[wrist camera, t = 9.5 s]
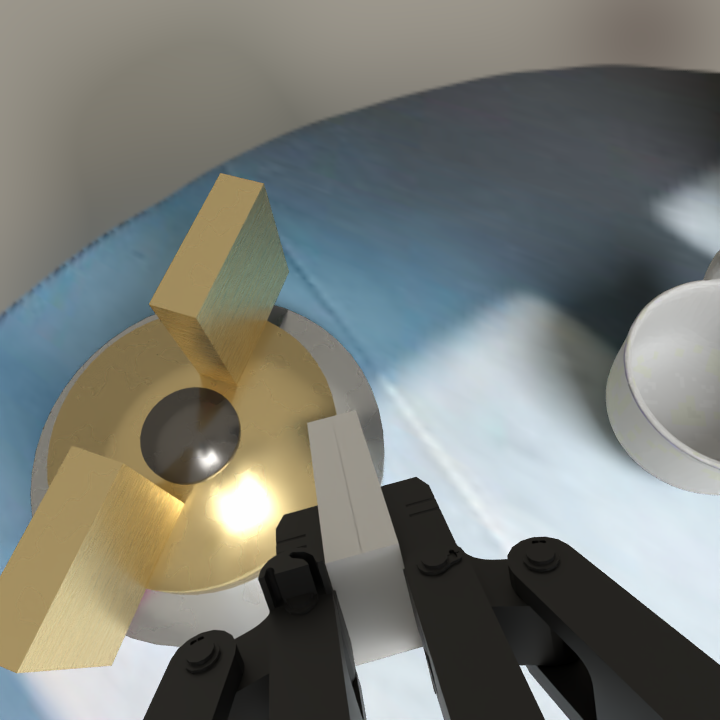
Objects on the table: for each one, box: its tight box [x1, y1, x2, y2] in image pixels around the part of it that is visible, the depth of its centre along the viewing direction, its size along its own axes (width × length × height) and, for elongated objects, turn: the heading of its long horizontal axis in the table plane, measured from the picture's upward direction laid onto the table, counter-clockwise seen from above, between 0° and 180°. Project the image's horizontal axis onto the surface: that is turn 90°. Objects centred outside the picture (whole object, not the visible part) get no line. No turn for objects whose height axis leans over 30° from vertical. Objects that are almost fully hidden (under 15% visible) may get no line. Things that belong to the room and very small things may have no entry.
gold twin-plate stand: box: [0, 173, 337, 673], centre depth 31 cm, size 18×17×10 cm
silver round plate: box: [31, 305, 385, 647], centre depth 37 cm, size 21×21×2 cm
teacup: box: [606, 251, 720, 495], centre depth 34 cm, size 14×11×8 cm
